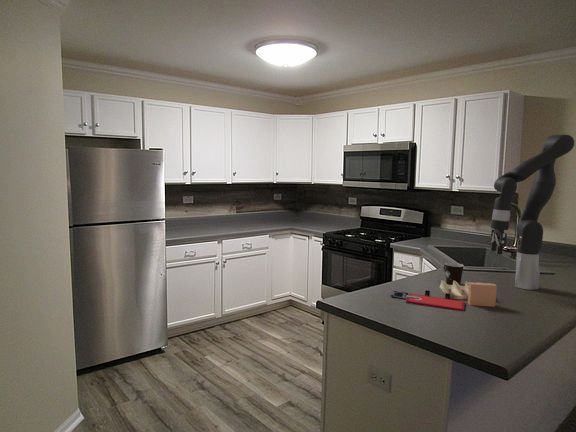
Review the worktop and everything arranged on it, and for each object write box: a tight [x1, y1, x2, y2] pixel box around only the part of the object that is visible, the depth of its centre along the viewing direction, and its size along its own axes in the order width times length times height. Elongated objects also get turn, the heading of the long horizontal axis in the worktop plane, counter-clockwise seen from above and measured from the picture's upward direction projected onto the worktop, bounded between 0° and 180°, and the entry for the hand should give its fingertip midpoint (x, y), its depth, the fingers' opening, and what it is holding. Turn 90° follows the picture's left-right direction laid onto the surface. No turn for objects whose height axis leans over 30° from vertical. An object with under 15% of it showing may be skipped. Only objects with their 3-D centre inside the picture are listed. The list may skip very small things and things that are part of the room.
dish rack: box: [439, 279, 481, 301], centre depth 181 cm, size 18×18×4 cm
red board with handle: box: [390, 289, 465, 312], centre depth 170 cm, size 30×3×15 cm
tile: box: [467, 281, 497, 308], centre depth 165 cm, size 10×3×9 cm, turn 80°
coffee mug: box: [443, 262, 465, 286], centre depth 198 cm, size 12×9×10 cm
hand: (496, 252), depth 189 cm, fingers open, 8 cm apart
